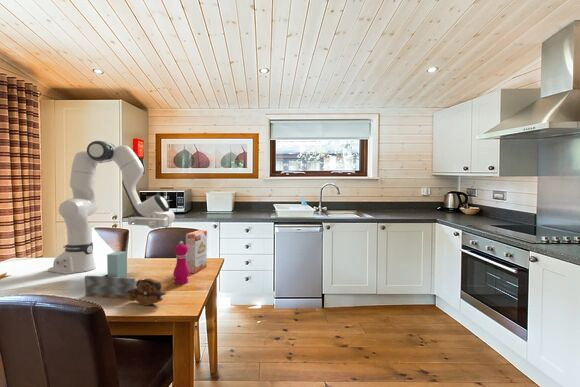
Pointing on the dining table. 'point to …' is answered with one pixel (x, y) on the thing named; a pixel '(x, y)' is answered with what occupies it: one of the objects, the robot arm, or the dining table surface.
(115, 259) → the grey-green rectangular block
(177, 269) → the pepper mill
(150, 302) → the wooden carving
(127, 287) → the grey speckled box
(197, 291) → the dining table surface
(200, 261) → the cracker box
